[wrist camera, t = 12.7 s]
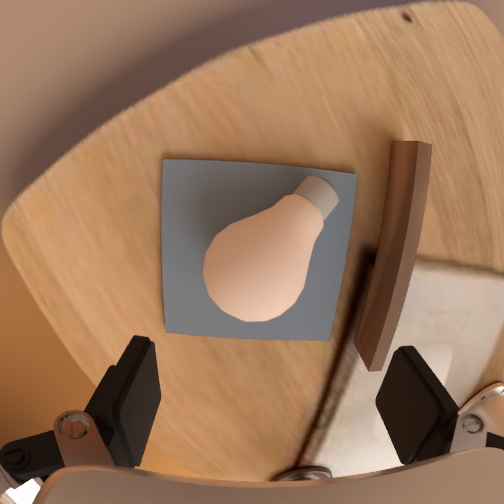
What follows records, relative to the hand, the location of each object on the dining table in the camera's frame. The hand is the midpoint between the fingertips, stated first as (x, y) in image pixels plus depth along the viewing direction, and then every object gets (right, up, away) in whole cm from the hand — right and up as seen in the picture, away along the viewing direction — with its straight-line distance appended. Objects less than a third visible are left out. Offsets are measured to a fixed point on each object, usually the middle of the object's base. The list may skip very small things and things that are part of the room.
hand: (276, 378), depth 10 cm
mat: (-1, +4, +12) cm, 13 cm away
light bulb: (+1, +6, +11) cm, 13 cm away
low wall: (+10, +5, +13) cm, 17 cm away
